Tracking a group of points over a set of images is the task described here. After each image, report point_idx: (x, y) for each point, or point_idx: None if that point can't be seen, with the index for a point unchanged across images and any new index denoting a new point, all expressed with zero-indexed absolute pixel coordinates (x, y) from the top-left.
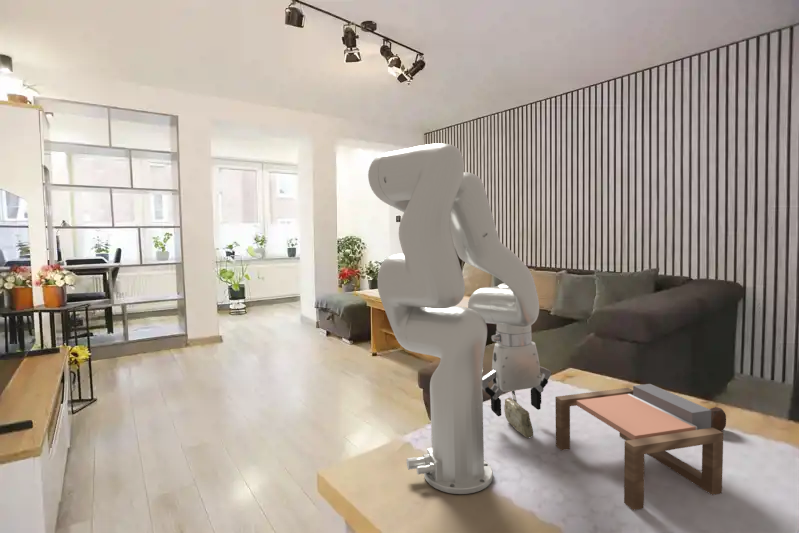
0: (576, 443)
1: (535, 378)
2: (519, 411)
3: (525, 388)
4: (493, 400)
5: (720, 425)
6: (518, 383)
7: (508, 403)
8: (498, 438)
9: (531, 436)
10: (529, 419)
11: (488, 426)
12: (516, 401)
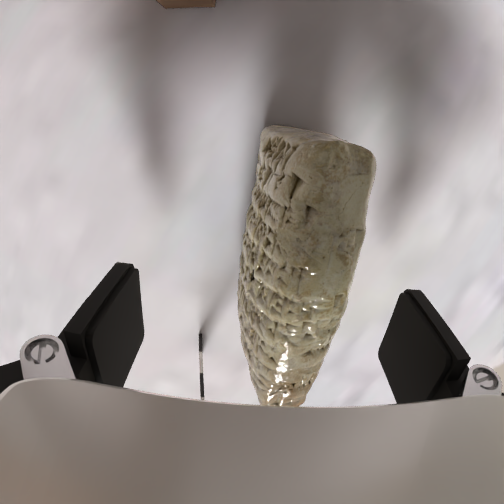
0: (108, 12)
1: (23, 476)
2: (356, 214)
3: (236, 404)
4: (466, 371)
5: None
6: (378, 485)
7: (318, 365)
8: (429, 192)
9: (278, 125)
10: (296, 137)
11: (388, 307)
12: (202, 392)
